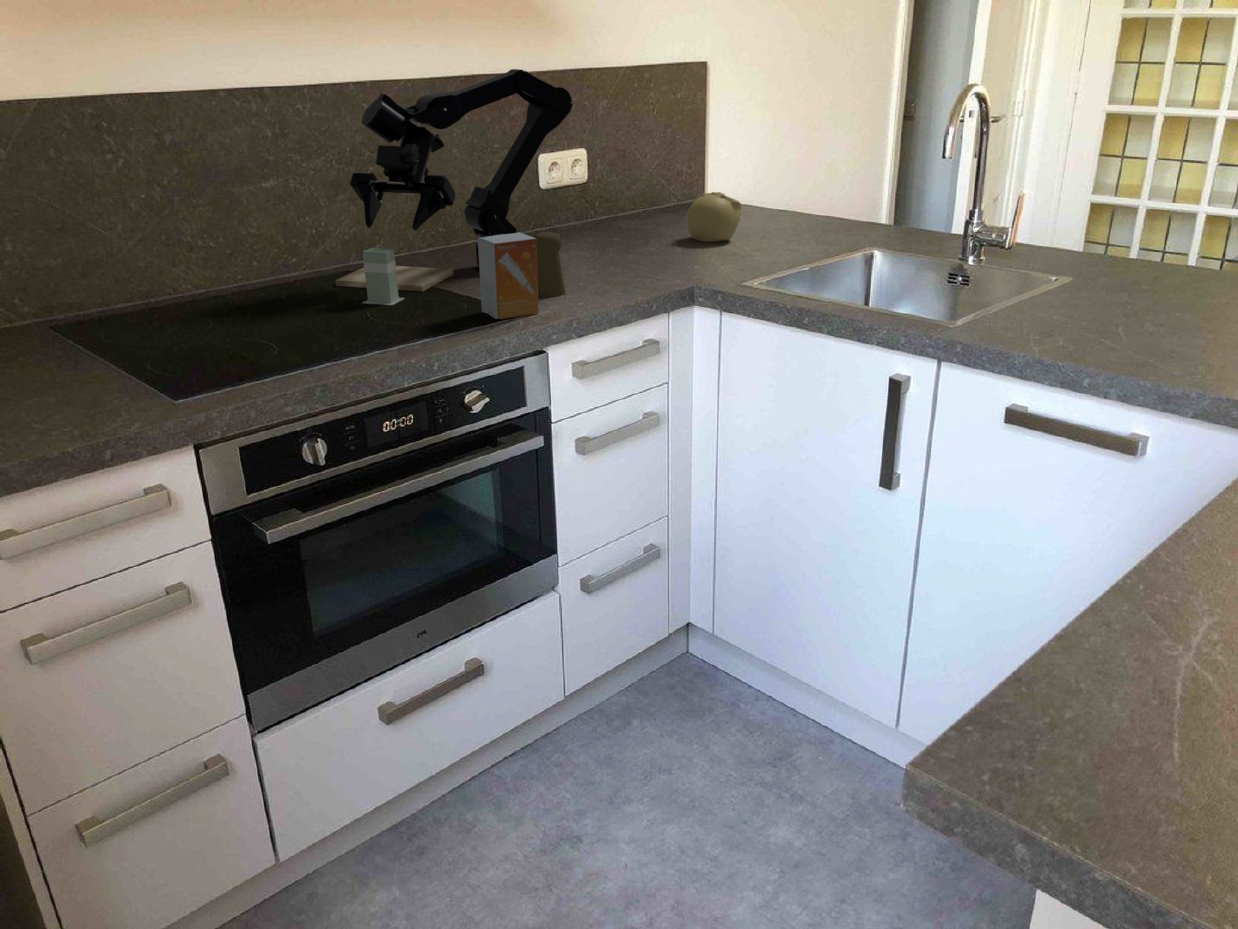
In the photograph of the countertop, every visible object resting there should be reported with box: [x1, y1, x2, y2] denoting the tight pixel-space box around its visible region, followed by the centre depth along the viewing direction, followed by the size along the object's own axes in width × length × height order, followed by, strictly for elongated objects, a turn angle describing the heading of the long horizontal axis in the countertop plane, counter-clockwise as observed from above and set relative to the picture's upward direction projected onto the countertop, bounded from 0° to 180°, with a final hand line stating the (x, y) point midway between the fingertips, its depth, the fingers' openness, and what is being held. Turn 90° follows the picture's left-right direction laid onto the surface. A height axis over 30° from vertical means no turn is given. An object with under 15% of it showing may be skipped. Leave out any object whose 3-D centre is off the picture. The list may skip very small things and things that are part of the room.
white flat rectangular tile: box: [361, 297, 405, 306], centre depth 178 cm, size 6×5×1 cm
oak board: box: [334, 265, 454, 292], centre depth 192 cm, size 18×14×1 cm
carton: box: [362, 247, 400, 303], centre depth 176 cm, size 5×3×9 cm
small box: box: [477, 232, 540, 320], centre depth 168 cm, size 8×6×13 cm
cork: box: [533, 231, 566, 298], centre depth 181 cm, size 6×6×11 cm
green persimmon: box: [685, 191, 742, 243], centre depth 224 cm, size 11×12×11 cm
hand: (390, 227), depth 178 cm, fingers open, 9 cm apart
